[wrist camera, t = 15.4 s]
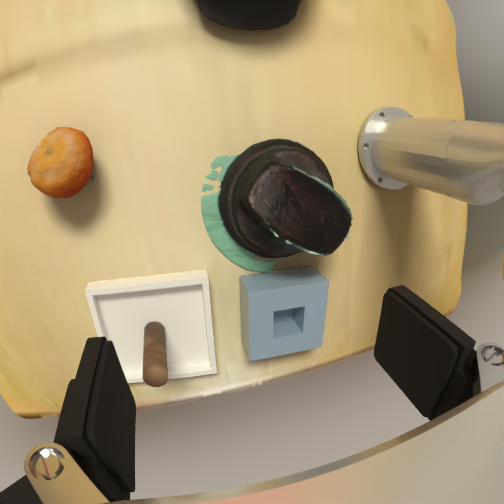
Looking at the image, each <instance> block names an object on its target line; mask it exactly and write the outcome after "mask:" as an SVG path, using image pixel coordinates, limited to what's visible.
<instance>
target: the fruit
mask: <svg viewBox="0 0 504 504" xmlns="http://www.w3.org/2000/svg"><path fill="white" fill-rule="evenodd" d="M92 170H93V150H92V146H91V144H90V141H89V139H88V137H87V136H86V135H85V134H84V132H82V131H79V130H76V129H73V128H67V127H57V128H56V129H54V130H53V131H51V132H50V133H48V135H47V136H46V137H45V138H44V139H43V140H42V141H41V143H40V144H39V145H38V146H37V148H36V149H35V150H34V152H33V154H32V155H31V157H30V160H29V164H28V174H29V176H30V178H31V182H32V184H33V185H34V186H35V187H36V188H37V189H39V190H40V191H41V192H43V193H44V194H46V195H48V196H51V197H54V198H68V197H71V196H74V195H75V194H77V193H78V192H80V191H81V190H82V188H83V187H84V186H85V185H86V184H87V182H88V181H89V179H90V178H91V179H94V178H93V177H92V176H91V174H92Z"/></svg>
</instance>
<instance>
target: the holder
mask: <svg viewBox="0 0 504 504" xmlns="http://www.w3.org/2000/svg"><path fill="white" fill-rule="evenodd" d="M239 280H240V308H241V333H242V343H243V345H244V348H245V350H246V353H247V355H248V358H249V360H250V361H254V360H260V359H265V358H271V357H276V356H281V355H286V354H291V353H296V352H300V351H305V350H310V349H314V348H319V347H322V341H323V332H324V324H325V315H326V306H327V296H328V286H329V280H328V279H327V278H325V277H324V276H323V275H322V274H321V273H320V272H319V271H318V270H317V269H316V268H315V267H306V268H298V269H291V270H283V271H275V272H267V273H259V274H251V275H243V276H239Z"/></svg>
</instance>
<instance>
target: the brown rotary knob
mask: <svg viewBox="0 0 504 504" xmlns="http://www.w3.org/2000/svg"><path fill="white" fill-rule="evenodd" d="M219 166H221V167H222V168H223V169H222V170H221V171H220V173H219V175H218V177H219V179H218V180H219V181H221V186H219V188H221V190H220V191H219V192H217V193H215V194H210V195H208V196H207V195H205V196H202V199H201V203H202V215H203V220H204V224H205V227H206V229H207V232H208V234H209V236H210V238H211V240H212V241H213V243H214V244H215V246H216V247H217V248H218V249H219V251H220V252H221V253H222V254H223V255H225V256H226V257H227V258H228V259H229V260H231V261H232V262H234V263H235V264H237V265H239V266H241V267H243V268H246V269H249V270H253V271H258V272H274V271H273V270H270V269H271V268H272V267H274V266H275V265H276V264H275V263H273V262H266V261H262V260H257V261H255V260H254V258H253V256H261V257H265V258H278V257H286V256H291V255H294V254H296V253H300V252H303V251H305V252H307V253H310V254H315V255H322V256H323V255H325V256H326V255H330V254H332V253H333V252H334V251H335V250H336V249H337V248H338V247H339V246H340V245H341V244H342V242H343V241H344V239H345V238H346V236H347V235H348V237H349V236H350V233H349V229H350V226H352V224H351V220H352V219H353V217H352V214H351V211H350V208H349V207H348V206H347V204H346V201H345V200H344V199H343V198H342V197H341V196H340V195H339V194H337V192H336V191H335V190H334V188H333V182H332V179H331V176H330V173H329V171H328V169H327V167H326V165H325V164H324V162H323V161H322V160H321V159H320V158H319V157H318V156H317V155H316V154H315V153H314V152H313V151H311V150H310V149H308V148H306V147H305V146H303V145H301V144H300V143H298V142H294V141H291V140H287V139H271V140H266V141H263V142H260V143H257V144H254V145H252V146H250V147H249V148H247V149H246V150H245V151H244V152H243V153H242V154H240V155H237V156H231V157H230V158H229V157H228V156H221V157H216V158H215V159H214V161H213V162H212V164H211V167H212V173H211V174H209V175H208V176H206V178H207V179H210V180H217V178H216V177H217V175H216V174H217V173H218V172H217V171H214V170H213V169H216V168H217V167H219ZM213 188H214V186H213V185H208V184H204V185H203V189H202V192H205V191H207V190H209V191H210V190H212V189H213ZM348 237H347V238H348Z"/></svg>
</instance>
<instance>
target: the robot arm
mask: <svg viewBox="0 0 504 504" xmlns="http://www.w3.org/2000/svg"><path fill="white" fill-rule="evenodd" d="M358 152H359V159H360V163H361V165H362V168H363V170H364V172H365V173H366V175H367V176H368V178H369V179H370V180H371V181H372V182H373V183H375V184H376V185H378V186H380V187H382V188H385V189H389V190H397V189H401V188H403V187H405V186H407V185H412V186H416V187H419V188H422V189H426V190H429V191H432V192H436V193H439V194H442V195H445V196H448V197H451V198H454V199H457V200H460V201H464V202H467V203H470V204H474V205H485V204H489V203H492V202H494V201H495V200H497V199H499V198H501V197H502V196H504V123H491V122H478V121H465V120H452V119H436V118H413V116H412V115H410V114H409V113H408V112H407V111H405V110H403V109H401V108H398V107H383V108H380V109H377V110H376V111H374V112H373V113H372V114H371V115H370V116H369V117H368V118H367V119H366V121H365V122H364V124H363V126H362V128H361V131H360V135H359V140H358ZM502 273H503V279H504V254H503V263H502ZM475 343H476V341H475V340H473V339H472V338H471V337H470V336H468V335H467V334H466V333H465V332H464V331H462V330H461V329H460V328H459V327H457V326H456V325H455V324H453V323H452V322H451V321H450V320H448V319H447V318H446V317H445V316H443V315H442V314H441V313H439V312H438V311H437V310H436V309H434V308H433V307H432V306H430V305H429V304H428V303H426V302H425V301H424V300H423V299H421V298H420V297H419V296H417V295H416V294H415V293H413V292H412V291H411V290H409V289H408V288H407V287H405V286H403V285H400V286H396V287H392V288H389V289H388V290H387V292H386V293H385V294H384V297H383V303H382V309H381V315H380V321H379V327H378V333H377V338H376V343H375V348H374V356H375V359H376V361H377V362H378V363H379V364H380V365H381V366H382V368H383V369H384V370H385V371H386V372H387V373H388V375H389V376H390V377H391V378H392V379H393V381H394V382H395V383H396V384H397V385H398V387H399V388H400V389H401V390H402V391H403V393H404V394H405V395H406V396H407V397H408V399H409V400H410V401H411V402H412V403H413V404H414V406H415V407H416V408H417V409H418V411H419V412H420V413H421V414H422V415H423V416H424V417H428V419H429V420H430V421H429V422H427V423H425V424H423V425H421V426H419V427H417V428H415V429H413V430H411V431H409V432H407V433H405V434H403V435H400V436H398V437H396V438H394V439H392V440H389V441H387V442H385V443H382V444H380V445H377V446H375V447H373V448H371V449H368V450H365V451H363V452H360V453H357V454H355V455H352V456H349V457H347V458H344V459H341V460H338V461H335V462H332V463H329V464H326V465H323V466H320V467H317V468H313V469H310V470H307V471H303V472H300V473H296V474H293V475H289V476H285V477H282V478H277V479H273V480H269V481H265V482H260V483H256V484H251V485H246V486H241V487H236V488H231V489H225V490H219V491H212V492H206V493H198V494H191V495H183V496H173V497H162V498H149V499H138V500H130V492H134V491H135V419H136V405H135V400H134V397H133V395H132V392H131V390H130V387H129V385H128V382H127V380H126V377H125V375H124V372H123V369H122V367H121V364H120V361H119V358H118V356H117V353H116V350H115V347H114V344H113V342H112V341H111V340H109V341H107V339H106V337H104V336H103V337H93V338H88V339H87V341H86V344H85V348H84V351H83V354H82V357H81V361H80V364H79V367H78V371H77V374H76V378H75V379H72V380H71V381H70V382H69V385H68V388H67V392H66V395H65V399H64V402H63V406H62V410H61V414H60V418H59V422H58V426H57V430H56V435H55V439H54V443H50V442H48V443H43V444H40V445H37V446H35V447H34V448H33V449H32V450H30V452H29V453H28V454H27V456H26V459H25V462H24V470H25V473H26V475H25V476H23V477H22V478H21V479H19V480H18V481H16V482H15V483H13V484H12V485H11V486H9V487H8V488H6V489H5V490H3V491H2V492H0V504H504V347H503V346H501V345H499V344H495V343H484V344H482V345H480V346H479V347H478V349H477V351H475V350H474V349H473V348H474V345H475Z"/></svg>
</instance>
